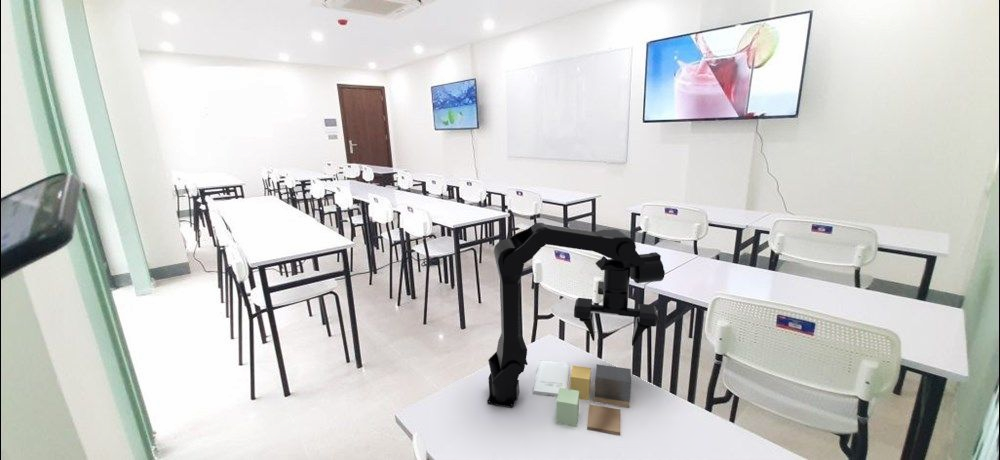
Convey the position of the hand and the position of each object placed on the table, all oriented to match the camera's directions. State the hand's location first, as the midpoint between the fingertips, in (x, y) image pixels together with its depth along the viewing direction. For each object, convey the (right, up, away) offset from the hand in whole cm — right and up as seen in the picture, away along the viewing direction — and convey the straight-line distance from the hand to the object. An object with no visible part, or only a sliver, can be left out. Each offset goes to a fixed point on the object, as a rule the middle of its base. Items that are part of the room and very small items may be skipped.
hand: (612, 342), depth 100 cm
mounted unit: (-1, -13, -1) cm, 13 cm away
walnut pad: (-4, -15, -8) cm, 18 cm away
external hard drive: (-14, -12, +6) cm, 19 cm away
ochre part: (-8, -13, +1) cm, 15 cm away
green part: (-12, -15, -7) cm, 21 cm away
